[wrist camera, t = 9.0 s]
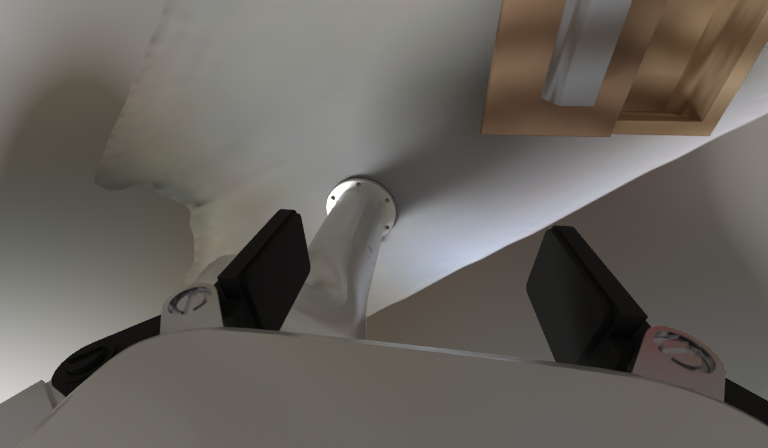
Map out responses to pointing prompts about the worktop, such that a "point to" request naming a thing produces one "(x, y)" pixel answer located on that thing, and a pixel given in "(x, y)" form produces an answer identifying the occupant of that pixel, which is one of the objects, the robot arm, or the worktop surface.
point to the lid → (565, 65)
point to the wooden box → (694, 66)
